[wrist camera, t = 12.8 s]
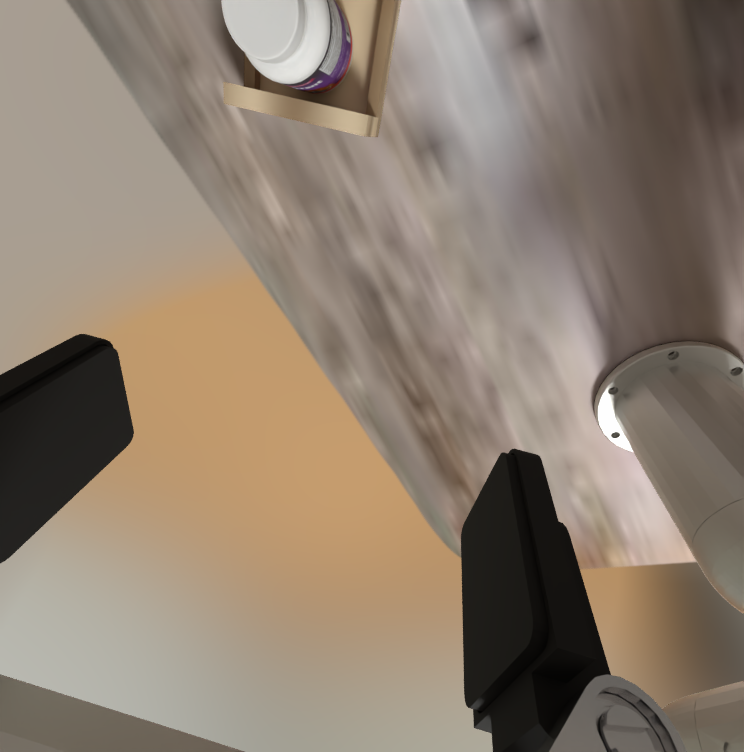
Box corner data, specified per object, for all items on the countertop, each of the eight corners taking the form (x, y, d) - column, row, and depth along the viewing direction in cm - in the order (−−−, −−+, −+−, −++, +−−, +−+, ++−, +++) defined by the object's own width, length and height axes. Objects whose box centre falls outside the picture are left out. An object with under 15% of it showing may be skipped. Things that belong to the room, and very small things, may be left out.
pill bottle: (275, 81, 28) (203, 56, 20) (287, -17, 25) (209, -93, 17) (344, 106, 28) (300, 91, 20) (364, 11, 26) (323, -51, 17)
